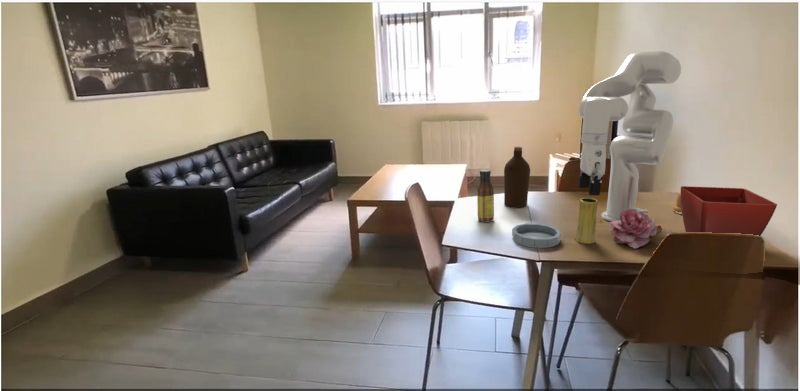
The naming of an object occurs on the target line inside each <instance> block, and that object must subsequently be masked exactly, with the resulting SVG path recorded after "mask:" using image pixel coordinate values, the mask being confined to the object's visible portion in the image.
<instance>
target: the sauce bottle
mask: <svg viewBox="0 0 800 391" xmlns="http://www.w3.org/2000/svg"><path fill="white" fill-rule="evenodd" d="M479 174H480V177H479V178H480V180H479V184H478V185H477V194H476V196H477V197H476V198H477V203H476V204H477V219H478V221H479V222H482V223H490V222H493V221H494V220H495V202H494V201H495V195H494V194H495V192H494V187H493V184H492V183H491V182H492V181H491V174H492V173H491V170H490V169H487V168H486V169H479Z"/></svg>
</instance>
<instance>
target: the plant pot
mask: <svg viewBox="0 0 800 391" xmlns="http://www.w3.org/2000/svg"><path fill="white" fill-rule="evenodd" d="M680 194H681V208H682V215H681V216H682V220H683V221H682V222H683V225H684V230H685V233H686V232H712V233H741V234H753V235H759V236H760V237H761V236H762V235H763V233H764V231H765V230H766V228H767V226H768V224H769V223H770V221H771V219H772V217H773V216H774V214H775V211H776V209H777V206H778V204H777V203H775V202H773V201H771V200H770V199H767V198H766V197H763V195H762V196H761V195H760V194H757V193H755V192H753V191H751V190H749V189H746V188H741V187H740V188H739V187H712V186H683V185H682V186H680Z"/></svg>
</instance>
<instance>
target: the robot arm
mask: <svg viewBox="0 0 800 391" xmlns="http://www.w3.org/2000/svg"><path fill="white" fill-rule="evenodd" d="M681 73H682V66H681V62H680V60H679V59H678V58H677V57H676V56H674V55H673V54H671V53H669V52H667V51H662V50H661V51H659V50H657V51H638V52H633V53H631V54H629V55H628V56H627V57H626V58H625V59H624V61H623V62H622V64H621V65H620V66H619V67H618V69H617V70H616V72H615V73H614V75H613V76H610V77H608V78H606V79H604V80H602V81H599V82H598V83H595V84H593V86H591V87H590V88H589V89H588V90H587V92H586V93H585V94H584V96H582V99H581V100H580V102H579V106H578V114H579V116H580V117H581V118H582V129H581V130H582V131H581V141H580V143H581V144H582V148H581V154H580V163H579V164H580V165H579V169H580V172H579V184H578V187H579V188H581V189H582V188H583V189H588V196H600V195H601V186H602V183H603V181H602V180H603V177H604V175H606V174H605V173H606V162H607V161H606V160H607V144H608V136H609V127H610V126H609V125H610V122H617V121H621V120H622V119H623V121H622V125H621V126H622V127H621V128H622V131H624V133H626V134H628V135H619V136H616V137H614V138H613V140H611V142H610V146H609V147H610V148H609V150H610V151H609V154H610V175H609V185H608V195H607V201H606V210H604V211H602V213H601V218H602V219H603V220H606V221H608V222H612V221H620V214H621V213H622V211H625V210H628V209H634V210H636V211H638V212H639V213H643V214H646V215H649V210H648V209H642V208H640V207H639V208H637V207H636V202H637V195H638V187H639V178H640V175H639V170H638V167H636V165H635V164H641V165H642V164H643V165H650V166H653V165H654V166H655V165H659V164H660V163H661V162H662V160H663V158H664V156H665V153H666V150H667V146H668V143H669V139H670V137H671V134H672V130H673V124H674V117H673V114H672V112H670V111H669V110H666V109H655V105H656V102H657V97H656V95H655V93H654V91H653V90H652V89H651V88H650V87H649V85H656V84H658V85H660V84H661V85H663V84H664V85H665V84H666V85H667V84H668V85H669V84H674V83H675V82H677V81H678V79H679V78H680V76H681ZM628 95H630V97H629V98H630V99H629V102H627V101H626V100H625V99H624V98H622V97H625V96H628Z"/></svg>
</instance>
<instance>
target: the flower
mask: <svg viewBox="0 0 800 391" xmlns="http://www.w3.org/2000/svg"><path fill="white" fill-rule="evenodd" d="M608 222H609V223H608V224H609V227H610V228H612V230H610V233H611V236H612V237H613V241H615V242H616V243H619V244H627V245H628V246H629V248H631V247H633V248H632V249H639V248H640V247H644V246H645V245H647V244H648V243H649V242H650V240H651V238H653V237H655V236H657V235H659V234H660V233H662V230H663V228H662V226H661V225H656V219H654V218H652V217H651V218H650V217H649V214H647V215H646V214H643V213H639V212H638V211H636V210H634V209H628V210H625V211H622V213H621V214H620V221H612V222H611V221H608Z"/></svg>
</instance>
